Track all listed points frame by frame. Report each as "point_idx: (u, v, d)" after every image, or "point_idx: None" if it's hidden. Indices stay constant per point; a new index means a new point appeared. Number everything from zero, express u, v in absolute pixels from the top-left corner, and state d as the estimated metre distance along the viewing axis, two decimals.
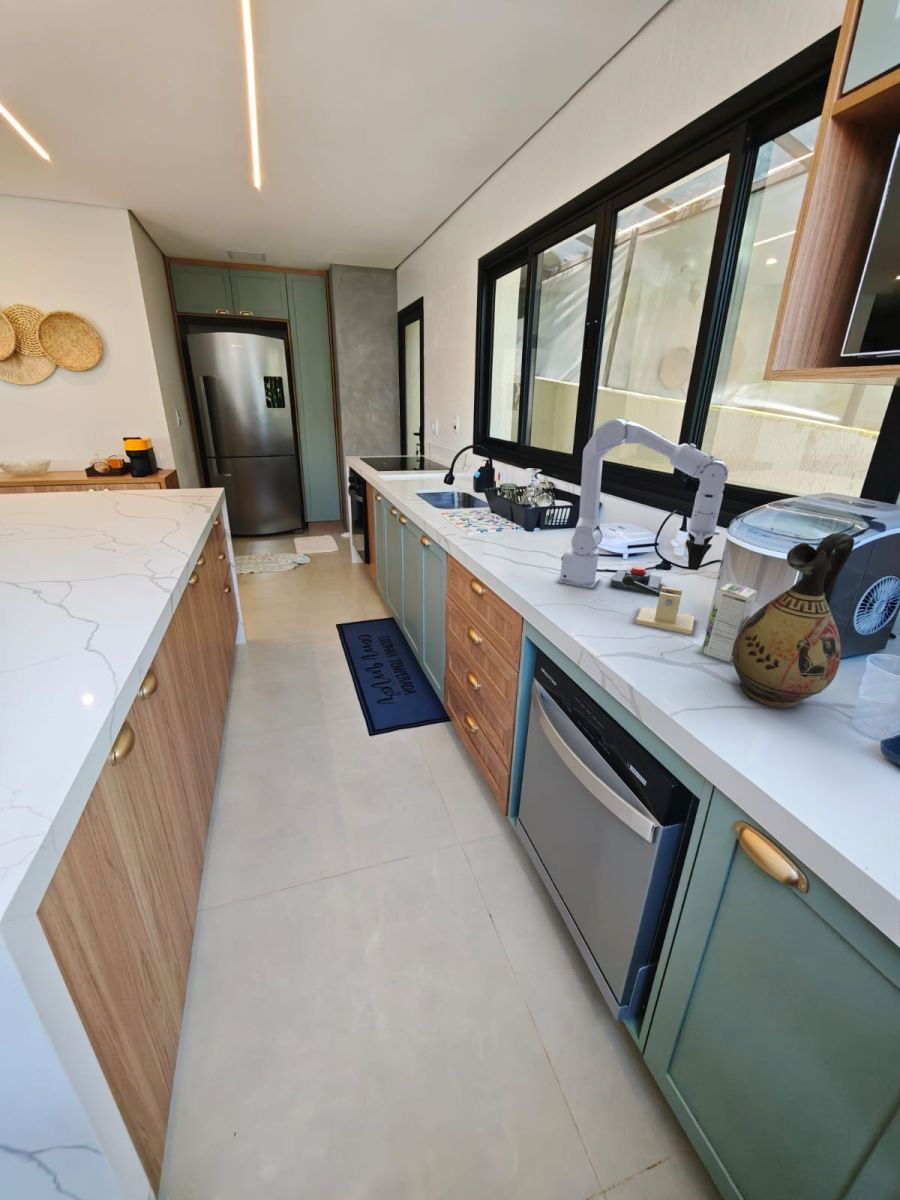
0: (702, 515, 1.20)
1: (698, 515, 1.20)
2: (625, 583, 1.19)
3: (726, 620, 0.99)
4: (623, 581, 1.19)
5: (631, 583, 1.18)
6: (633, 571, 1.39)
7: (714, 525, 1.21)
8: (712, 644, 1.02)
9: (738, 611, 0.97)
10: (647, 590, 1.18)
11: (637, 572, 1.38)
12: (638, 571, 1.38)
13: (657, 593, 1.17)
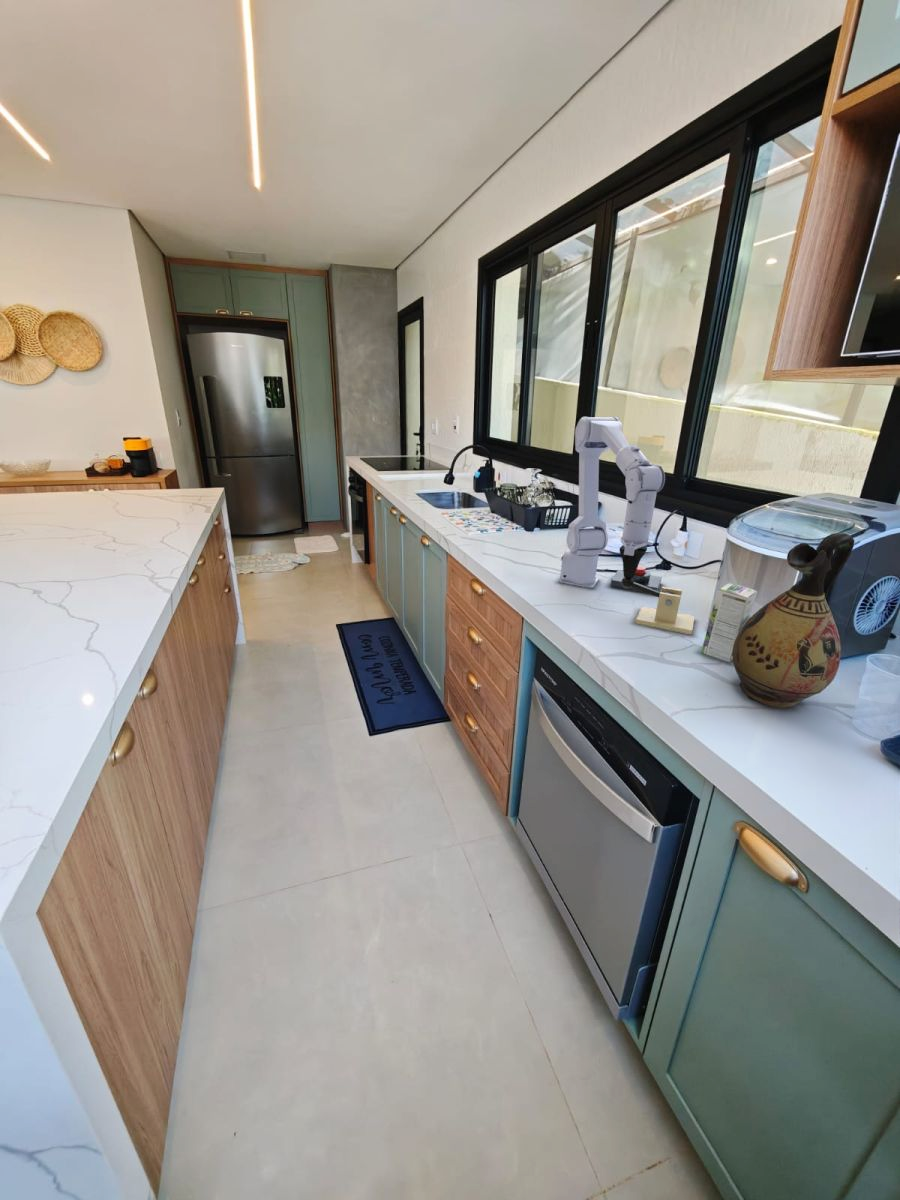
0: (633, 524, 1.12)
1: (629, 524, 1.13)
2: (624, 584, 1.19)
3: (726, 620, 0.99)
4: (622, 582, 1.19)
5: (630, 584, 1.18)
6: None
7: (646, 535, 1.13)
8: (712, 644, 1.02)
9: (738, 611, 0.97)
10: (647, 591, 1.18)
11: (637, 572, 1.38)
12: (638, 571, 1.38)
13: (657, 593, 1.17)
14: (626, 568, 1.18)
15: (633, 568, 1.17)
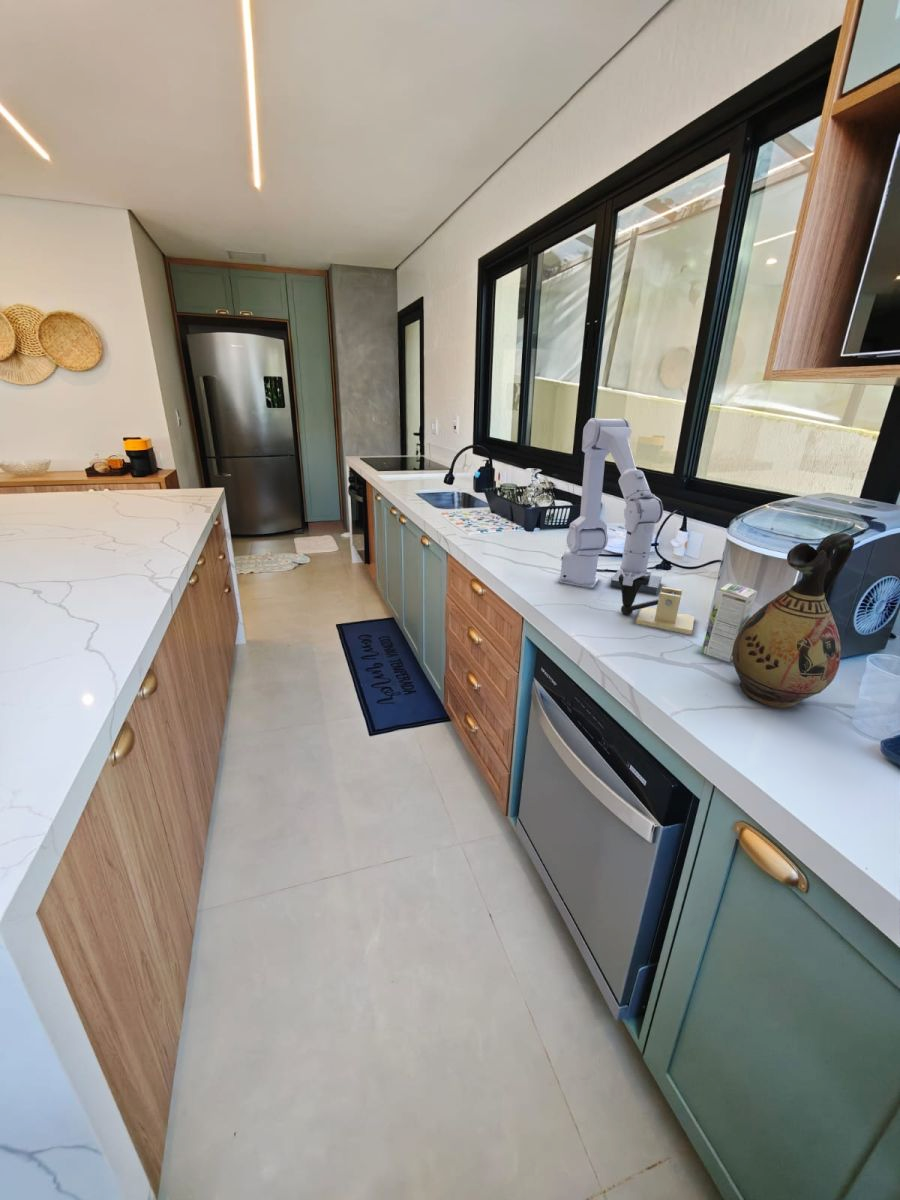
0: (632, 554, 1.14)
1: (628, 554, 1.15)
2: (625, 613, 1.21)
3: (726, 620, 0.99)
4: (623, 612, 1.22)
5: (630, 609, 1.21)
6: None
7: (645, 564, 1.15)
8: (712, 644, 1.02)
9: (738, 611, 0.97)
10: (646, 605, 1.19)
11: None
12: None
13: (656, 602, 1.18)
14: (625, 596, 1.20)
15: (632, 596, 1.19)
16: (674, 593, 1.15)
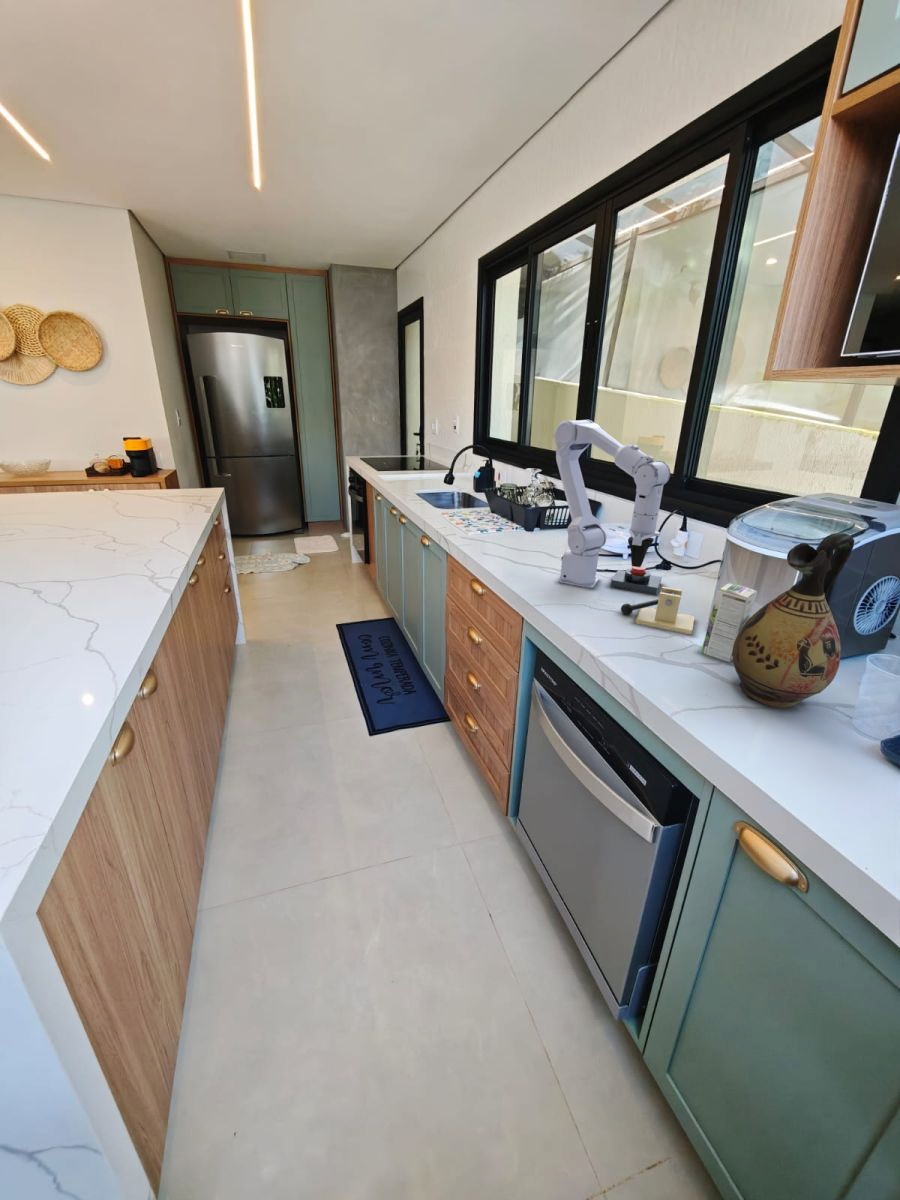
0: (641, 516, 1.20)
1: (637, 516, 1.21)
2: (625, 612, 1.21)
3: (726, 620, 0.99)
4: (622, 612, 1.22)
5: (629, 609, 1.21)
6: (633, 571, 1.39)
7: (653, 526, 1.21)
8: (712, 644, 1.02)
9: (738, 611, 0.97)
10: (646, 605, 1.19)
11: (637, 572, 1.38)
12: (638, 571, 1.38)
13: (656, 601, 1.18)
14: (634, 558, 1.26)
15: (640, 558, 1.26)
16: (674, 593, 1.15)
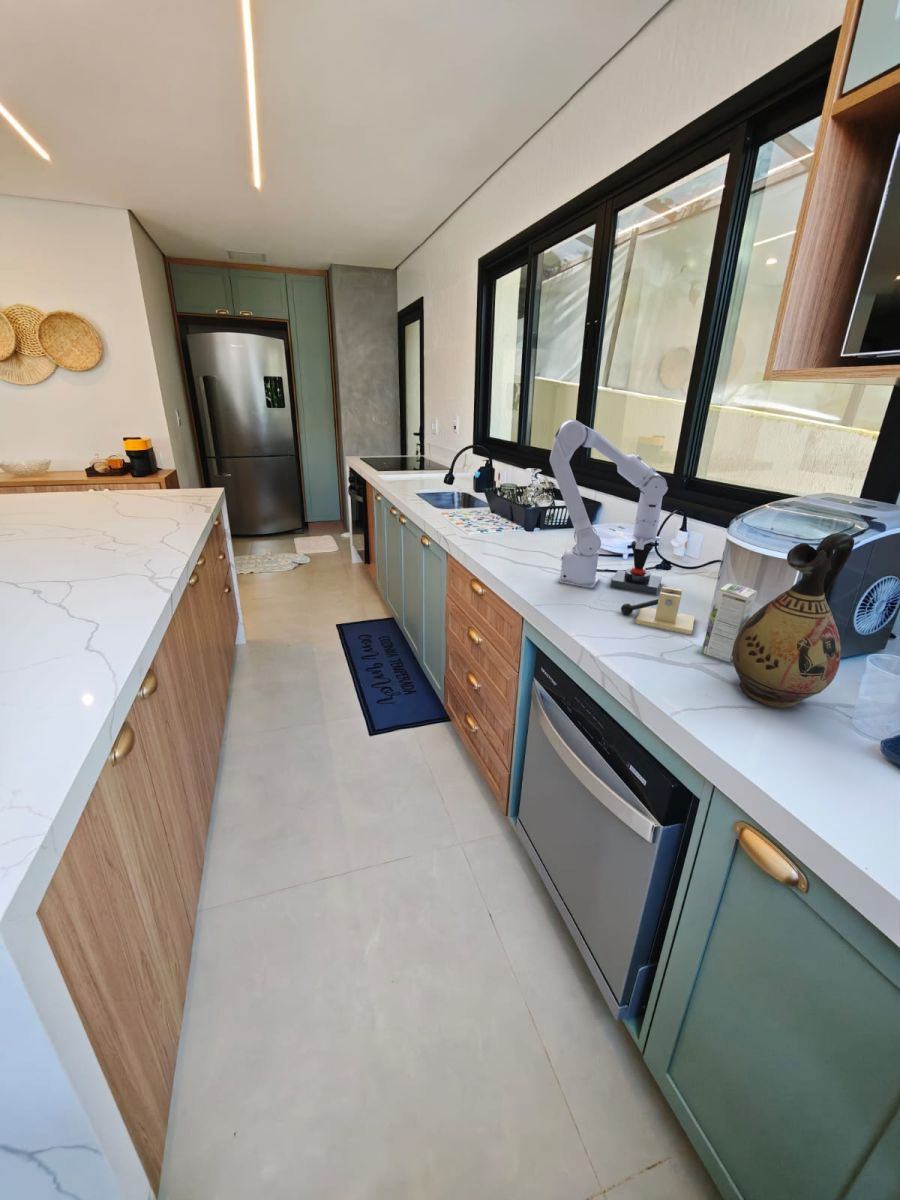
0: (643, 523, 1.32)
1: (640, 523, 1.32)
2: (625, 612, 1.21)
3: (726, 620, 0.99)
4: (622, 612, 1.22)
5: (629, 609, 1.21)
6: (633, 571, 1.39)
7: (654, 532, 1.33)
8: (712, 644, 1.02)
9: (738, 611, 0.97)
10: (646, 605, 1.19)
11: (637, 572, 1.38)
12: (638, 571, 1.38)
13: (656, 601, 1.18)
14: (636, 560, 1.38)
15: (643, 560, 1.37)
16: (674, 593, 1.15)
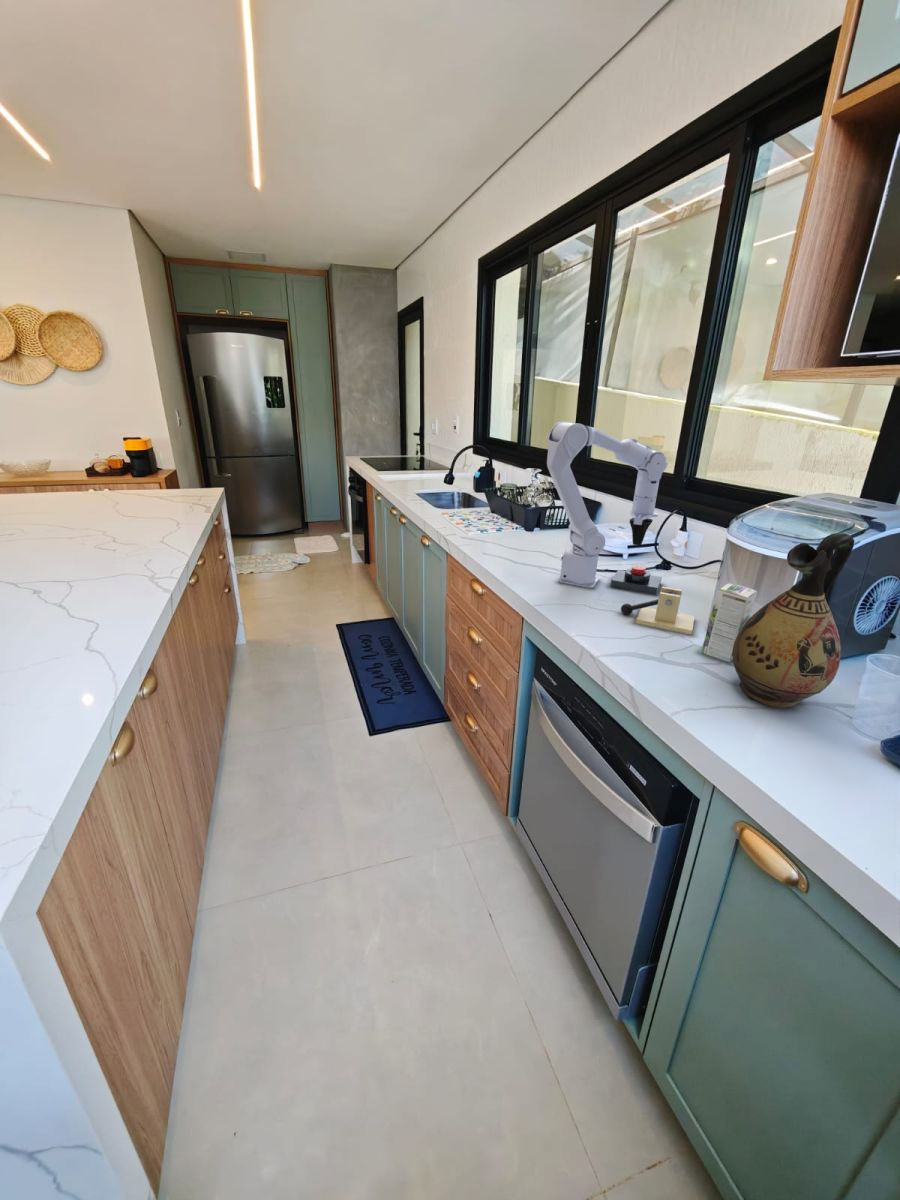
0: (641, 499, 1.35)
1: (638, 499, 1.35)
2: (625, 612, 1.21)
3: (726, 620, 0.99)
4: (622, 612, 1.22)
5: (629, 609, 1.21)
6: (633, 571, 1.39)
7: (652, 508, 1.36)
8: (712, 644, 1.02)
9: (738, 611, 0.97)
10: (646, 605, 1.19)
11: (637, 572, 1.38)
12: (638, 571, 1.38)
13: (656, 601, 1.18)
14: (635, 537, 1.41)
15: (641, 537, 1.40)
16: (674, 593, 1.15)
